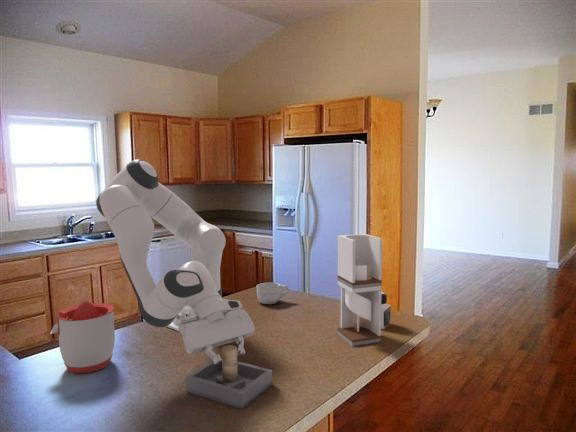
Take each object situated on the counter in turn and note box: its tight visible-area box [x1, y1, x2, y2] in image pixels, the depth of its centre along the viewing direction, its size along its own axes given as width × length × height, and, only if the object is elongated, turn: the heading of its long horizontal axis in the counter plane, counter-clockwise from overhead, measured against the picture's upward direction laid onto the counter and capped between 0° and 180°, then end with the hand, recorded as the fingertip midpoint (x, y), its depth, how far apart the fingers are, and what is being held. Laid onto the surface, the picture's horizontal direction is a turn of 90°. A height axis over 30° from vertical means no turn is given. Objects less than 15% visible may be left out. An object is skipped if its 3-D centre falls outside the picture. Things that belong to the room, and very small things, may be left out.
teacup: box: [256, 282, 290, 305], centre depth 190 cm, size 14×11×8 cm
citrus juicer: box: [49, 300, 116, 374], centre depth 129 cm, size 16×17×20 cm
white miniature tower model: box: [337, 233, 383, 347], centre depth 148 cm, size 11×11×35 cm
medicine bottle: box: [381, 291, 391, 330], centre depth 162 cm, size 7×7×12 cm
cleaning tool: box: [215, 344, 246, 389], centre depth 116 cm, size 7×5×10 cm
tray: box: [185, 356, 273, 410], centre depth 116 cm, size 18×14×4 cm
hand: (230, 358), depth 115 cm, fingers open, 6 cm apart
